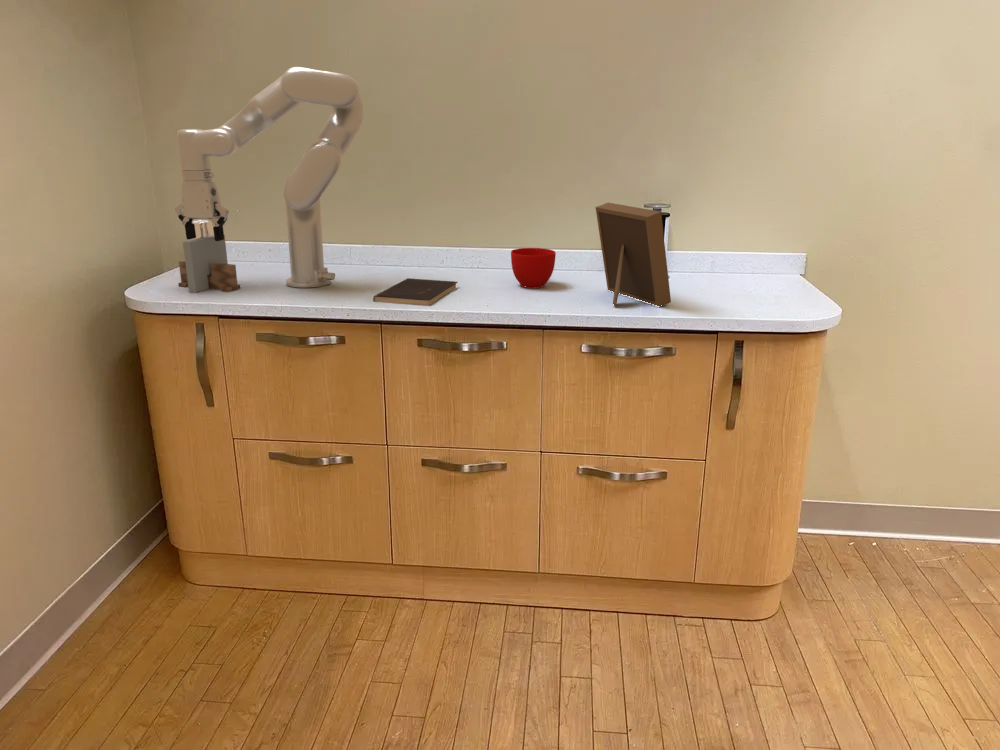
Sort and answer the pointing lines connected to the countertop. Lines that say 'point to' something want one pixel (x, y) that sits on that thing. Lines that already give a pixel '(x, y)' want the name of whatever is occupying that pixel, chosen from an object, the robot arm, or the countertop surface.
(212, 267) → the walnut slotted plate
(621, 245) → the photo frame
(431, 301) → the hardcover book
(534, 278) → the ceramic cup
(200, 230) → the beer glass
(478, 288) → the countertop surface
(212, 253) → the gray square panel
